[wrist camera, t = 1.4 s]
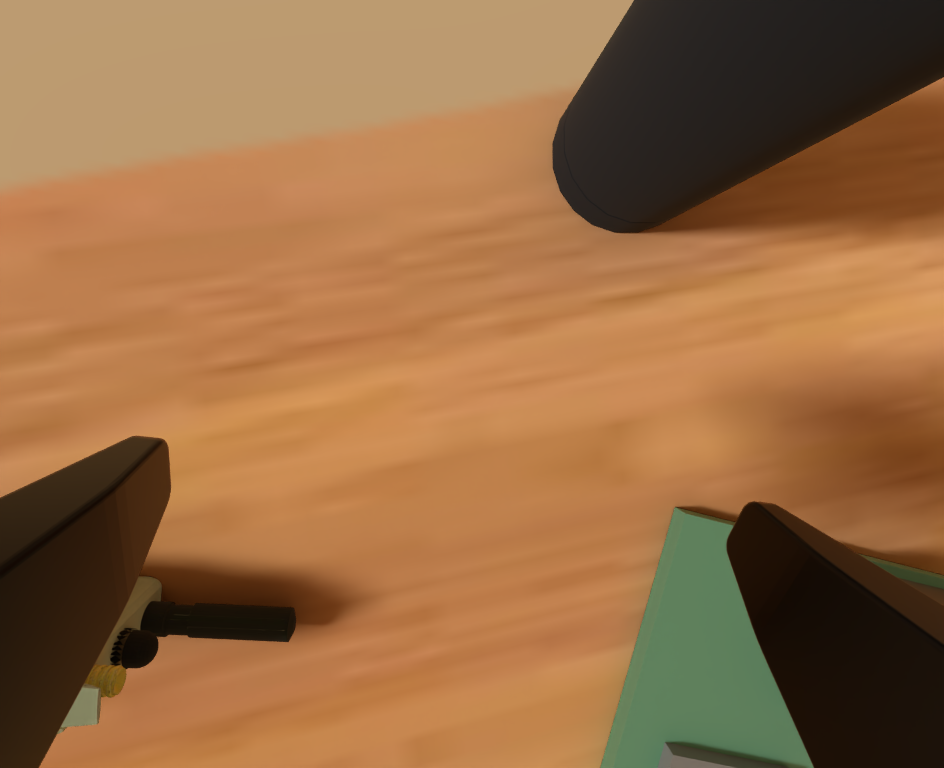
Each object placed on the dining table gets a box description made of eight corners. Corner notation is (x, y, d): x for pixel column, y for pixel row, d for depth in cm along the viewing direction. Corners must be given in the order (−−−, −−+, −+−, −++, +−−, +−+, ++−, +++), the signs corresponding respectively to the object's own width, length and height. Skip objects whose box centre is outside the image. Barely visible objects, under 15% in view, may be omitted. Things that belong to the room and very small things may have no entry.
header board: (874, 935, 27) (964, 1049, 23) (567, 884, 26) (599, 996, 21) (981, 584, 27) (1094, 631, 22) (674, 507, 25) (731, 540, 21)
